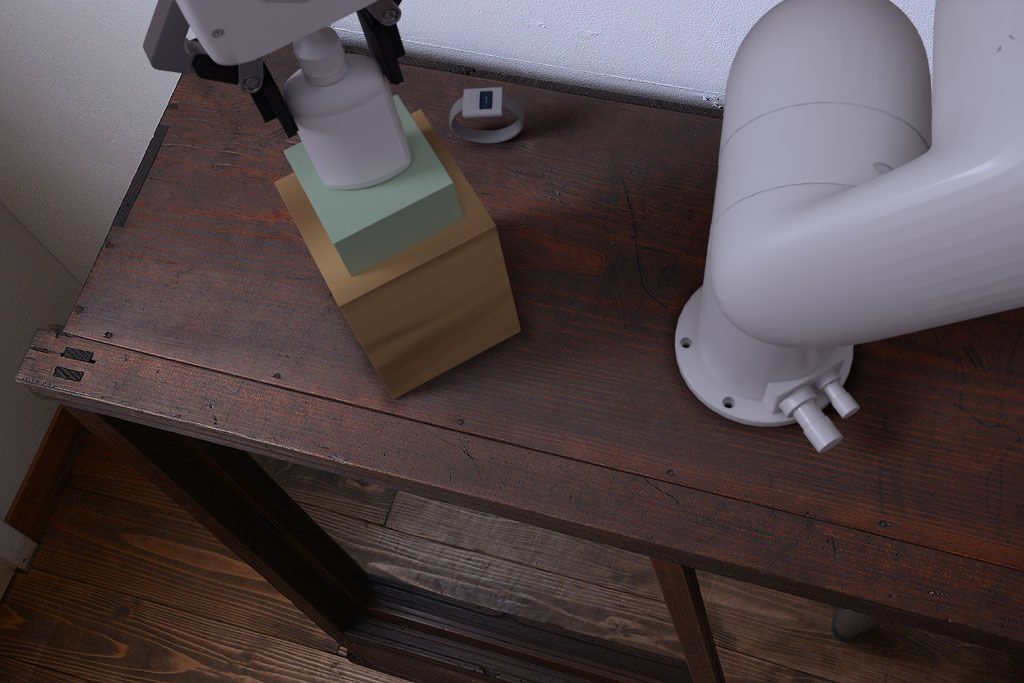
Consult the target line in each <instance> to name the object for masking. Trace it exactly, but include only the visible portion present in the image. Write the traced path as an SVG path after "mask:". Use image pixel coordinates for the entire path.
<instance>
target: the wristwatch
mask: <svg viewBox="0 0 1024 683" xmlns="http://www.w3.org/2000/svg"><path fill="white" fill-rule="evenodd" d="M504 110H506V111H507V112H509V113H511V115H513V116H514V117H515V118H516V119H517V120H516V121H515V122H514V123H512V124H511V125H508V126H506V127H503V128H500V129H493V130H490V129H489V130H486V129H477V128H472V127H469V126H465V125H463V124H462V123H460V122H459V120H457V119H456V118H457V117H458V116H459V115H460V113H462V119H481V118H497V117H503V111H504ZM448 122H449V123H448V126H449V129H450V131H451V132H452V134H453V135H454V136H455V137H458V138H459V139H462V140H464V141H469V142H472V143H476V144H488V145H489V144H491V145H492V144H499V143H503V142H507V141H509V140H511V139H514V138H515V137H517V136H518V135H519V134H520V133H521V132H522V131H523V128H524V126H525V112H524V109H523V107H522V106H521V105H520V104H519V103H518V102H517V101H516V100H515V99H513V98H512V97H510V96H508V95H505V94H504V88H503V86H494V87H493V86H492V87H478V88H476V87H475V88H463V95H462V97H460V98H459V99H457V100H456V101H455V102H454V103H453V105H452V107H451V109H450V112H449V121H448Z"/></svg>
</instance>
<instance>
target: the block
mask: <svg viewBox="0 0 1024 683" xmlns="http://www.w3.org/2000/svg"><path fill="white" fill-rule="evenodd" d="M392 97H393V100H394V103H395V106H396V109H397V111H398V114H399V117H400V120H401V123H402V126H403V129H404V132H405V135H406V138H407V141H408V144H409V148H410V152H411V163H410V165H409V166H408V168H406V169H405V170H404V171H403V172H401V173H400V174H398V175H396V176H395V177H393V178H391V179H389V180H387V181H385V182H382V183H380V184H377V185H374V186H370V187H366V188H361V189H353V190H336V189H331V188H328V187H326V186H325V185H324V183H323V182H322V180H321V178H320V176H319V174H318V172H317V170H316V168H315V166H314V164H313V162H312V160H311V158H310V156H309V154H308V152H307V151H306V149H305V146H304V144H303V142H302V141H300V142H298V143H296V144H294V145H292V146H290V147H288V148H285V149H283V153H284V155H285V157H286V159H287V161H288V163H289V165H290V166H291V169H292V171H293V173H294V172H295V174H296V176H297V178H298V180H299V182H300V183H301V185H302V187H303V189H304V191H305V193H306V195H307V196H308V198H309V200H310V202H311V204H312V206H313V208H314V209H315V211H316V213H317V215H318V217H319V219H320V221H321V223H322V224H323V226H324V228H325V230H326V232H327V234H328V236H329V237H330V239H331V241H332V243H333V245H334V247H335V249H336V250H337V252H338V254H339V256H340V258H341V260H342V262H343V263H344V265H345V267H346V269H347V271H348V273H349V275H350V276H351V277H352V276H354V275H356V274H358V273H360V272H362V271H364V270H366V269H368V268H370V267H372V266H374V265H376V264H377V263H379V262H381V261H383V260H385V259H387V258H389V257H391V256H393V255H395V254H397V253H399V252H401V251H403V250H405V249H407V248H408V247H410V246H412V245H414V244H416V243H418V242H420V241H422V240H424V239H426V238H428V237H430V236H432V235H434V234H436V233H437V232H439V231H441V230H443V229H445V228H447V227H449V226H451V225H453V224H455V223H457V222H459V221H461V220H463V219H464V217H463V214H462V210H461V207H460V203H459V200H458V196H457V193H456V189H455V186H454V182H453V181H452V179H451V178H450V176H449V174H448V173H447V171H446V170H445V168H444V167H443V165H442V163H441V162H440V160H439V159H438V157H437V156H436V154H435V152H434V151H433V149H432V148H431V146H430V145H429V143H428V141H427V140H426V138H425V137H424V135H423V134H422V132H421V130H420V129H419V127H418V126H417V124H416V123H415V121H414V119H413V118H412V116H411V115H410V114H411V113H410V112H409V110H408V109H407V107H406V105H405V104H404V102H403V100H402V98H400V96H399V95H398V94H394V95H392Z"/></svg>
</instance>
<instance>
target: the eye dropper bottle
mask: <svg viewBox="0 0 1024 683" xmlns="http://www.w3.org/2000/svg"><path fill="white" fill-rule="evenodd" d="M292 51H293V54H294V56H295V58H296V61H297V63H298V66H299V68H300V69H298V70H297V71H296V72H294V73H293V74H292V75H290V77H289V78H288V79H286V82H285V83H284V85H283V98H284V100H285V102H286V104H287V106H288V108H289V110H290V112H291V114H292V116H293V118H294V120H295V123H296V125H297V127H298V129H299V131H297V132H296V133H297V135H298V136H299V139H300V140H301V142H303V144H304V146H305V149H306V151H307V152H308V154H309V156H310V158H311V160H312V162H313V164H314V166H315V168H316V170H317V172H318V174H319V176H320V178H321V180H322V182H323V183H324V185H325V186H326V187H328V188H331V189H336V190H353V189H361V188H366V187H370V186H374V185H377V184H380V183H382V182H385V181H387V180H389V179H391V178H393V177H395V176H396V175H398V174H400V173H401V172H403V171H404V170H405V169H406V168H408V166H409V165H410V163H411V152H410V148H409V144H408V141H407V138H406V135H405V132H404V129H403V126H402V123H401V120H400V117H399V114H398V111H397V109H396V106H395V103H394V100H393V94H392V92H391V89H390V86H389V82H388V79H387V78H386V76H385V75H384V73H383V70H382V68H381V66H380V64H379V62H378V61H377V60H376V59H374V57H371V56H367V55H362V54H355V53H346V52H345V50H344V48H343V45H342V42H341V39H340V37H339V34H338V32H337V31H336V30H335V29H334V28H332V27H331V26H330V25H328V26H326V27H324V28H322V29H320V30H318V31H315V32H313V33H311V34H309V35H307V36H305V37H303V38H301V39H299V40H297V41H294V42H292Z"/></svg>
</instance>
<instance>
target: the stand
mask: <svg viewBox="0 0 1024 683" xmlns="http://www.w3.org/2000/svg"><path fill="white" fill-rule="evenodd" d="M410 115H411V116H412V118H413V119H414V121H415V123H416V124H417V126H418V127H419V129H420V130H421V132H422V134H423V135H424V137H425V138H426V140H427V141H428V143H429V145H430V146H431V148H432V149H433V151H434V152H435V154H436V156H437V157H438V159H439V160H440V162H441V163H442V165H443V167H444V168H445V170H446V171H447V173H448V174H449V176H450V178H451V179H452V181H453V182H454V186H455V189H456V193H457V196H458V200H459V203H460V207H461V210H462V214H463V217H464V219H463V220H461V221H459V222H457V223H455V224H453V225H451V226H449V227H447V228H445V229H443V230H441V231H439V232H437V233H436V234H434V235H432V236H430V237H428V238H426V239H424V240H422V241H420V242H418V243H416V244H414V245H412V246H410V247H408V248H407V249H405V250H403V251H401V252H399V253H397V254H395V255H393V256H391V257H389V258H387V259H385V260H383V261H381V262H379V263H377V264H376V265H374V266H372V267H370V268H368V269H366V270H364V271H362V272H360V273H358V274H356V275H354V276H352V277H351V276H350V275H349V273H348V271H347V269H346V267H345V265H344V263H343V262H342V260H341V258H340V256H339V254H338V252H337V250H336V249H335V247H334V245H333V243H332V241H331V239H330V237H329V236H328V234H327V232H326V230H325V228H324V226H323V224H322V223H321V221H320V219H319V217H318V215H317V213H316V211H315V209H314V208H313V206H312V204H311V202H310V200H309V198H308V196H307V195H306V193H305V191H304V189H303V187H302V185H301V183H300V182H299V180H298V178H297V176H296V174H295V172H294V171H293V172H292V173H290V174H288V175H286V176H284V177H282V178H280V179H278V180H276V181H274V185H275V187H276V189H277V191H278V193H279V195H280V196H281V199H282V201H283V202H284V204H285V206H286V208H287V210H288V212H289V213H290V216H291V217H292V220H293V222H294V224H295V226H296V227H297V229H298V232H299V233H300V235H301V237H302V239H303V240H304V243H305V245H306V247H307V249H308V250H309V252H310V255H311V256H312V258H313V260H314V263H315V264H316V265H317V268H318V269H319V271H320V274H321V275H322V277H323V279H324V281H325V283H326V285H327V287H328V288H329V291H330V293H331V294H332V296H333V298H334V300H335V302H336V305H337V306H338V307H339V309H340V312H341V313H342V315H343V316H344V318H345V320H346V321H347V323H348V325H349V327H350V328H351V330H352V332H353V333H354V335H355V337H356V338H357V340H358V342H359V343H360V345H361V346H362V348H363V349H362V350H364V352H365V354H366V355H367V357H368V359H369V361H370V362H371V364H372V366H373V368H374V370H376V373H377V374H378V376H379V378H380V379H381V381H382V383H383V384H384V386H385V388H386V389H387V392H388V393H389V395H390V396H391V398H392V400H395V399H397V398H399V397H401V396H403V395H405V394H407V393H408V392H410V391H412V390H414V389H416V388H417V387H419V386H422V385H423V384H425V383H427V382H429V381H431V380H433V379H434V378H436V377H439V376H440V375H442V374H444V373H446V372H448V371H449V370H451V369H453V368H455V367H457V366H459V365H461V364H463V363H464V362H466V361H468V360H470V359H472V358H474V357H475V356H477V355H479V354H481V353H483V352H485V351H487V350H488V349H490V348H492V347H494V346H497V345H498V344H500V343H501V342H504V341H505V340H507V339H509V338H511V337H513V336H515V335H517V334H519V333H520V332H521V331H522V329H521V325H520V320H519V316H518V312H517V308H516V304H515V300H514V295H513V291H512V288H511V287H512V286H511V283H510V279H509V274H508V270H507V267H506V262H505V258H504V253H503V250H502V245H501V240H500V236H499V233H498V228H497V225H496V223H495V222H494V220H493V219H492V217H491V216H490V214H489V212H488V211H487V209H486V208H485V206H484V204H483V203H482V201H481V200H480V198H479V197H478V195H477V193H476V192H475V191H474V189H473V188H472V186H471V184H470V183H469V181H468V180H467V178H466V177H465V175H464V173H463V171H462V170H461V169H460V167H459V166H458V164H457V163H456V161H455V160H454V158H453V157H452V155H451V153H450V152H449V150H448V149H447V147H446V146H445V144H444V143H443V140H442V139H441V138H440V136H439V135H438V133H437V132H436V130H435V129H434V127H433V126H432V124H431V122H430V121H429V119H428V117H427V116H426V115H425V113H424V111H423V110H422V108H421V109H418V110H416V111H414V112H411V113H410Z"/></svg>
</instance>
